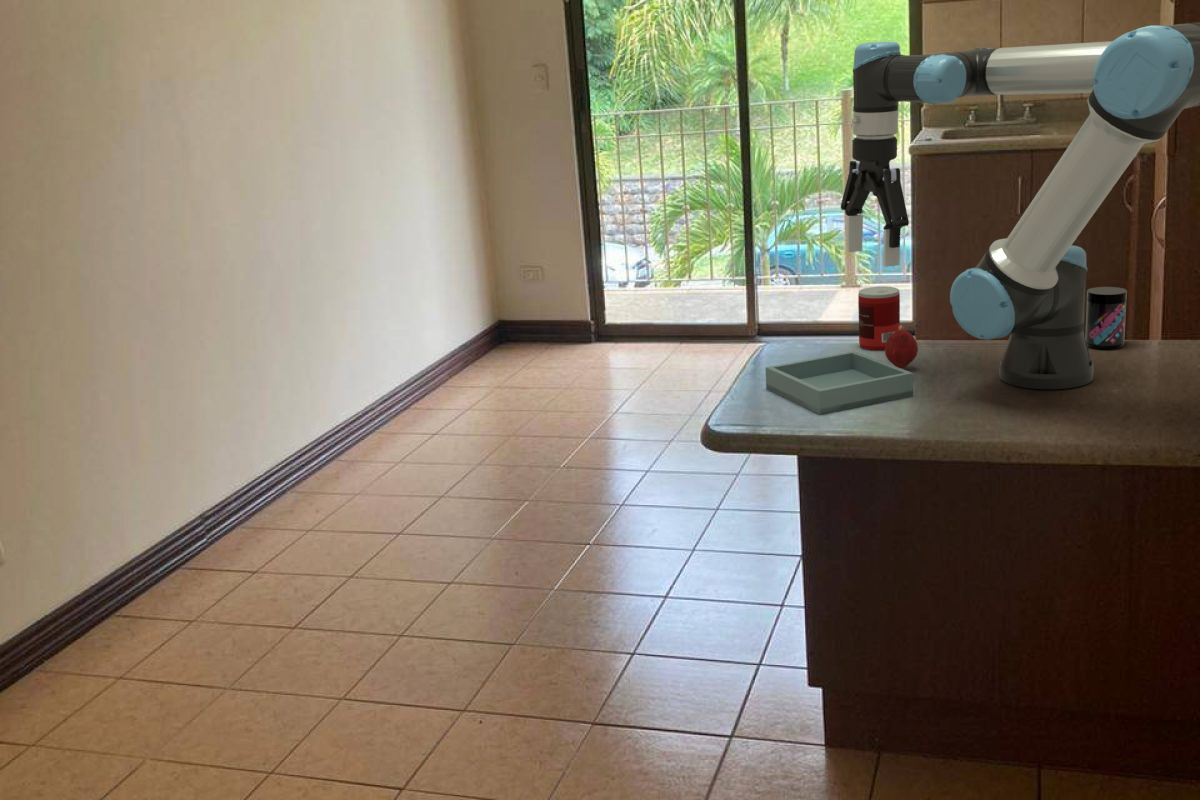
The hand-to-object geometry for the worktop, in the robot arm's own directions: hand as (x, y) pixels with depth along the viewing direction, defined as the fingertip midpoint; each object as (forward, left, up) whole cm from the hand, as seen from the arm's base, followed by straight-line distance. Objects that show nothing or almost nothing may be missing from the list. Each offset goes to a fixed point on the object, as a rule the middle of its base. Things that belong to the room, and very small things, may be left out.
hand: (872, 258), depth 214 cm
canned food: (+14, -10, -21) cm, 27 cm away
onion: (-2, -4, -21) cm, 21 cm away
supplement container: (-11, -42, -21) cm, 49 cm away
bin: (-8, +13, -21) cm, 25 cm away
